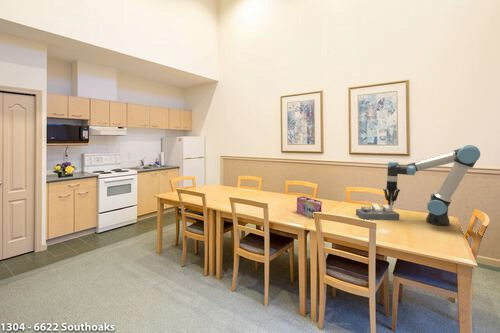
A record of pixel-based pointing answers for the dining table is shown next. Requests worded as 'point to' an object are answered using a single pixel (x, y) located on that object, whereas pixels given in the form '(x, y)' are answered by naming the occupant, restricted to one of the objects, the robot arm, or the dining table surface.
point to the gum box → (308, 206)
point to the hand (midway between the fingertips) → (390, 208)
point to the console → (376, 214)
